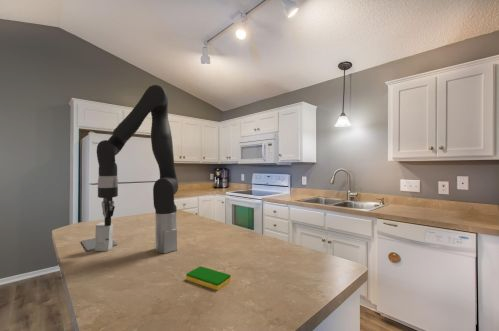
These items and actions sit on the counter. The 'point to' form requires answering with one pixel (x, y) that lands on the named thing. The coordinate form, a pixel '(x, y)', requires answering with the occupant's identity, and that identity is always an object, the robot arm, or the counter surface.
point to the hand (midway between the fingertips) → (107, 225)
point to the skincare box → (103, 237)
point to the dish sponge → (208, 277)
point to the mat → (92, 244)
